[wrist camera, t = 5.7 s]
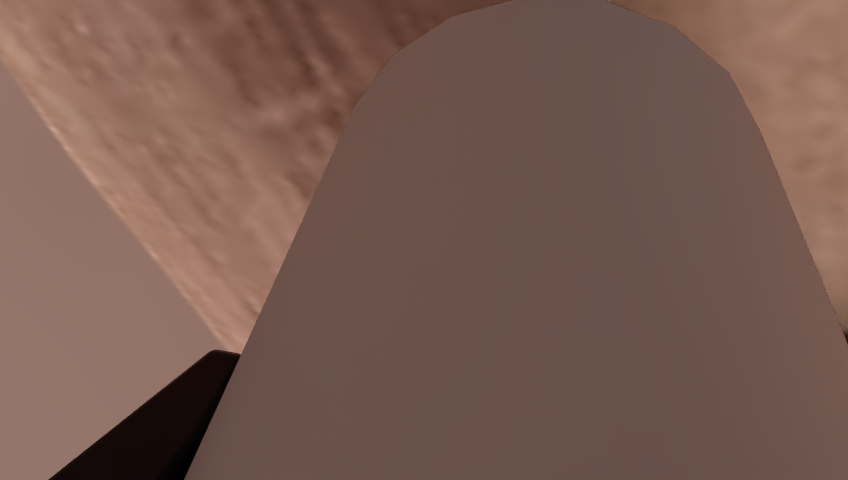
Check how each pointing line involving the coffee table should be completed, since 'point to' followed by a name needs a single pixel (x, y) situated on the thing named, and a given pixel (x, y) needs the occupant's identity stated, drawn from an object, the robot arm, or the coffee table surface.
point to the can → (543, 276)
